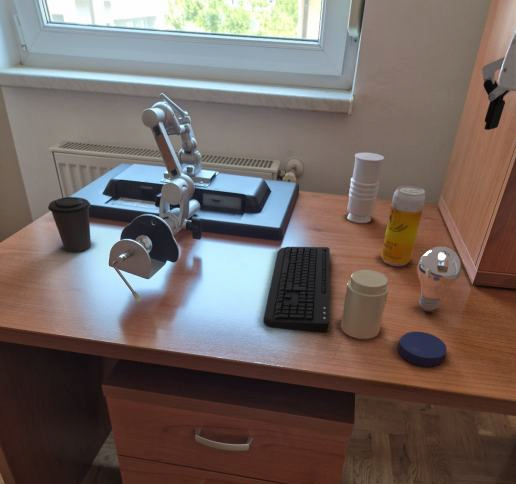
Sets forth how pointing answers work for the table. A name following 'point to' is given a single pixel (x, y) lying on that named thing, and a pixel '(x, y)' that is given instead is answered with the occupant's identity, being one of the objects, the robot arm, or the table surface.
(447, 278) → the light bulb
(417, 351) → the lid
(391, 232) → the yellow bottle
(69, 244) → the coffee cup
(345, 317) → the jar
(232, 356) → the table surface
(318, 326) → the keyboard
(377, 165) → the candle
